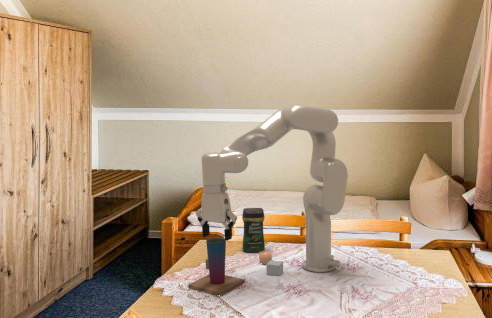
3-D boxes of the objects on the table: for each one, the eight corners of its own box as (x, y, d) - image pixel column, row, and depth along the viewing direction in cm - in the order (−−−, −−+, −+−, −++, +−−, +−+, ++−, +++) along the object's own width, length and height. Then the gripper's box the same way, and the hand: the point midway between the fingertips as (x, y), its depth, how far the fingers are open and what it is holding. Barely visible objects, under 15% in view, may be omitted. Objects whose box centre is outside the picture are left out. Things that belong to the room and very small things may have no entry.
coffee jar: (243, 253, 199) (242, 210, 196) (242, 248, 206) (241, 206, 204) (266, 252, 199) (265, 209, 197) (264, 247, 207) (263, 205, 205)
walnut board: (244, 282, 166) (244, 279, 165) (220, 296, 154) (220, 292, 154) (213, 275, 174) (213, 272, 173) (188, 287, 162) (188, 284, 162)
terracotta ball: (273, 260, 188) (272, 250, 188) (270, 264, 183) (270, 254, 183) (261, 260, 190) (260, 250, 189) (258, 264, 185) (257, 254, 184)
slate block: (283, 271, 176) (283, 261, 176) (279, 276, 172) (279, 265, 171) (270, 270, 178) (270, 260, 178) (266, 275, 173) (266, 264, 173)
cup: (224, 286, 160) (223, 243, 158) (205, 285, 161) (203, 242, 159) (229, 278, 166) (228, 237, 165) (210, 277, 168) (209, 236, 166)
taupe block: (224, 268, 181) (224, 258, 181) (219, 271, 178) (219, 261, 177) (211, 266, 184) (210, 256, 183) (205, 269, 180) (205, 259, 180)
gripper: (241, 188, 158) (243, 238, 160) (201, 185, 168) (204, 232, 170) (228, 192, 152) (230, 244, 154) (187, 189, 162) (190, 237, 164)
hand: (217, 237), depth 162 cm, fingers open, 9 cm apart
